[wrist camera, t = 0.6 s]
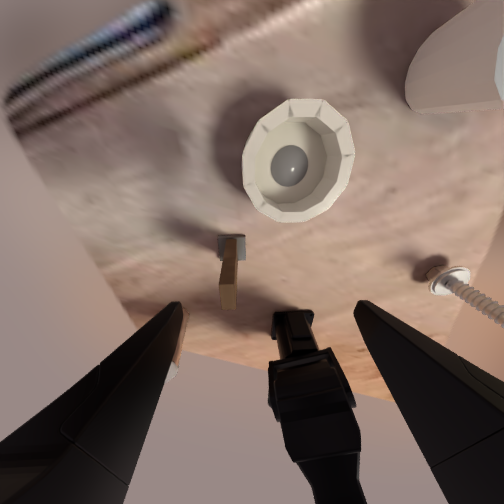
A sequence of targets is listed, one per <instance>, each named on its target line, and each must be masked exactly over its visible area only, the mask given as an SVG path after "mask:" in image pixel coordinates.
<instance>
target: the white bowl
mask: <svg viewBox="0 0 504 504" xmlns="http://www.w3.org/2000/svg"><path fill="white" fill-rule="evenodd" d="M354 153H355V149H354V145H353V140H352V136H351V132H350V128H349V123H348V122H347V120H346V119H345V118H344V117H343V116H342V115H341V114H340V113H338V112H337V111H336V110H335V109H334V108H333V107H332V106H331V105H329V104H328V103H327V102H326V101H325V100H322V99H289V100H286V101H285V102H284V103H282V104H281V105H279V106H278V107H276V108H275V109H274V110H272V111H271V112H269V113H268V114H266V115H265V116H264V117H262V118H261V119H259V121H258V122H257V123H256V125H255V127H254V129H253V130H252V132H251V134H250V135H249V137H248V139H247V141H246V144H245V147H244V150H243V153H242V176H243V187H244V189H245V190H246V192H247V194H248V196H249V197H250V199H251V201H252V203H253V204H254V206H255V208H256V209H257V210H258V211H259V212H261V213H263V214H264V215H266V216H268V217H270V218H272V219H273V220H275V221H277V222H280V223H284V222H305V221H307V220H309V219H311V218H313V217H315V216H317V215H319V214H320V213H322V212H324V211H326V210H328V209H329V208H330V207H331V205H332V204H333V203H334V202H335V200H336V199H337V198H338V196H339V195H340V194H341V193H342V191H343V190H344V189H345V188H346V185H348V181H349V177H350V173H351V169H352V165H353V161H354V157H355V154H354ZM327 208H328V209H327Z"/></svg>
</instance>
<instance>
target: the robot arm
mask: <svg viewBox="0 0 504 504" xmlns="http://www.w3.org/2000/svg"><path fill="white" fill-rule="evenodd" d="M353 314H354V318H355V320H356V322H357V325H358V327H359V330H360V332H361V335H362V337H363V340H364V342H365V344H366V346H367V348H368V350H369V352H370V354H371V356H372V358H373V360H374V362H375V364H376V366H377V367H378V369H379V371H380V373H381V375H382V377H383V379H384V381H385V383H386V385H387V387H388V388H389V390H390V392H391V394H392V396H393V398H394V400H395V402H396V404H397V405H398V407H399V409H400V411H401V413H402V415H403V417H404V419H405V421H406V423H407V425H408V427H409V429H410V430H411V432H412V434H413V436H414V438H415V440H416V442H417V444H418V446H419V448H420V450H421V452H422V453H423V455H424V457H425V459H426V461H427V463H428V465H429V466H430V469H431V471H432V473H433V475H434V477H435V479H436V481H437V482H438V484H439V486H440V488H441V490H442V492H443V494H444V496H445V498H446V500H447V502H448V503H449V504H504V382H503V381H501V380H499V379H498V378H496V377H494V376H492V375H490V374H489V373H487V372H485V371H484V370H482V369H480V368H479V367H477V366H475V365H474V364H472V363H470V362H469V361H467V360H465V359H464V358H462V357H460V356H458V355H457V354H455V353H454V352H452V351H450V350H449V349H447V348H446V347H444V346H442V345H441V344H439V343H437V342H436V341H434V340H432V339H431V338H429V337H427V336H426V335H424V334H422V333H421V332H419V331H417V330H416V329H414V328H413V327H411V326H409V325H408V324H406V323H404V322H403V321H401V320H399V319H398V318H396V317H394V316H393V315H391V314H389V313H388V312H386V311H384V310H383V309H381V308H380V307H378V306H376V305H375V304H373V303H371V302H370V301H368V300H359V301H358V302H357V305H356V307H355V309H354V312H353ZM276 315H277V316H276ZM313 318H314V313H313V311H296V312H275V313H274V314H273V322H272V333H271V338H272V340H277V344H278V349H279V355H280V360H276V361H269V368H268V377H269V391H268V392H269V393H268V404H269V406H270V407H271V408H272V410H273V412H274V415H275V418H276V420H277V422H280V423H281V428H282V432H283V438H284V442H285V447H286V450H287V452H288V454H289V455H290V457H291V459H292V461H293V462H296V463H297V465H298V466H299V468H300V469H301V471H302V473H303V474H304V476H305V477H306V479H307V480H308V482H309V484H310V485H311V487H312V491H313V495H314V499H315V504H367V502H366V499H365V496H364V493H363V490H362V487H361V485H360V482H359V465H360V462H359V461H360V452H361V434H360V429H359V426H358V423H357V421H356V418H355V416H354V413H353V410H352V408H355V407H356V402H355V399H354V396H353V393H352V391H351V388H350V386H349V383H348V381H347V379H346V377H345V374H344V372H343V371H342V369H341V367H340V365H339V363H338V361H337V359H336V357H335V355H334V353H333V351H332V349H331V347H328V348H327V349H323V350H319V348H318V345H317V342H316V340H315V337H314V335H313V332H312V329H311V326H312V322H313ZM182 321H183V309H182V305H181V302H179V301H175V302H171V303H169V304H168V305H167V306H166V307H165V308H163V309H162V310H161V311H160V312H159V313H158V314H156V315H155V316H154V317H153V318H152V319H151V320H149V321H148V322H147V323H146V324H145V325H144V326H142V327H141V328H140V329H139V330H138V331H137V332H136V333H134V334H133V335H132V336H131V337H130V338H129V339H127V340H126V341H125V342H124V343H123V344H122V345H120V346H119V347H118V348H117V349H116V350H115V351H114V352H112V353H111V354H110V355H109V356H108V357H106V358H105V359H104V360H103V361H102V362H101V363H100V365H97V366H96V367H95V368H93V369H92V370H91V371H90V372H89V373H88V374H86V375H85V376H84V377H83V378H82V379H80V380H79V381H78V382H77V383H76V384H74V385H73V386H72V387H71V388H70V389H68V390H67V391H66V392H64V393H63V394H62V395H61V396H60V397H58V398H57V399H56V400H54V401H53V402H52V403H50V404H49V405H48V406H47V407H45V408H44V409H43V410H41V411H40V412H39V413H38V414H36V415H35V416H33V417H32V418H31V419H30V420H29V421H27V422H26V423H24V424H23V425H22V426H20V427H19V428H18V429H17V430H15V431H14V432H13V433H11V434H10V435H9V436H7V437H6V438H5V439H4V440H2V441H1V442H0V504H123V502H124V499H125V496H126V493H127V491H128V488H129V486H128V485H129V484H130V482H131V479H132V476H133V473H134V470H135V467H136V464H137V461H138V458H139V455H140V452H141V450H142V447H143V444H144V441H145V438H146V435H147V432H148V429H149V426H150V423H151V420H152V418H153V415H154V412H155V409H156V406H157V403H158V400H159V397H160V394H161V391H162V388H163V385H164V383H165V380H166V377H167V374H168V371H169V368H170V365H171V362H172V359H173V357H174V354H175V350H176V347H177V343H178V338H179V334H180V330H181V325H182Z"/></svg>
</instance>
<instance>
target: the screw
mask: <svg viewBox="0 0 504 504" xmlns="http://www.w3.org/2000/svg"><path fill="white" fill-rule="evenodd" d="M426 276H427V278H428V280H429V281H430V283H429V291H430V292H431V293H433V294H435V295H448V294H452V293H455V295H456V296H460V299H462V300H465V302H466V303H470V305H471V306H472V307H476V309H477V310H478V311H482V314H484V315H488V318H489V319H494V321H495V323H497V324H501V326H502V327H503V328H504V305H502V306H500V305H499V304H498V302H497V301H492V300H491V298H490V297H489V298H487V297H486V296H485V294H481V293H479V292H480V291H479V290H474V287H469V284H467V283H468V281H469V280H470V271H469V269H467V268H465V267H463V266H454V267H450V268H448V267H446V266H444V265H442V266H437V267H433V268H432V269H431V270H430V271H429V272H428V273H427V274H426Z"/></svg>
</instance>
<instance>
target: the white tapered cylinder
mask: <svg viewBox="0 0 504 504" xmlns="http://www.w3.org/2000/svg"><path fill="white" fill-rule="evenodd" d="M405 98H406V101H407V103H408V105H409V107H410V108H411V110H413V111H415V112H417V113H419V114H434V113H450V112H465V111H480V110H496V109H504V0H476V1H475V2H473V3H472V4H470V5H469V6H468V7H466V8H465V9H464V10H462V11H461V12H460V13H458V14H457V15H455V16H454V17H453V18H451V19H450V20H449V21H447V22H446V23H445V24H443V25H442V26H441V27H439V28H438V29H436V30H435V31H434V32H432V34H431V35H430V36H429V37H428V38H427V39H426V41H425V42H424V43H423V44H422V45H421V46H420V47H419V49H418V51H417V53H416V54H415V56H414V58H413V60H412V62H411V64H410V66H409V69H408V73H407V77H406V81H405Z"/></svg>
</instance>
